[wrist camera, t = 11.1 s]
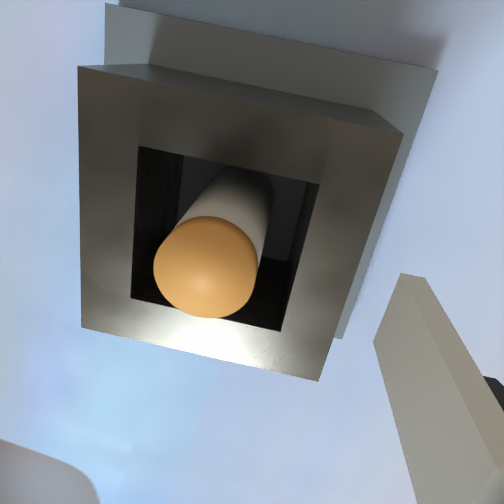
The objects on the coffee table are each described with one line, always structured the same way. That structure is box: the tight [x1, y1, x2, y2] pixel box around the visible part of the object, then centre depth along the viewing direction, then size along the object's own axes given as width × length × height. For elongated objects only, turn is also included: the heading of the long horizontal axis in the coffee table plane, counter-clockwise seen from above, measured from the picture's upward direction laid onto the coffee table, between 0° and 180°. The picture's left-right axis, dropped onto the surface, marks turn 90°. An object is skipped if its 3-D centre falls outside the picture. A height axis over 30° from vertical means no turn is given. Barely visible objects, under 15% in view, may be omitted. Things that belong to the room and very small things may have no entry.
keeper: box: [104, 3, 438, 339], centre depth 16 cm, size 14×14×9 cm
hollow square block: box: [77, 64, 404, 381], centre depth 17 cm, size 10×10×6 cm
